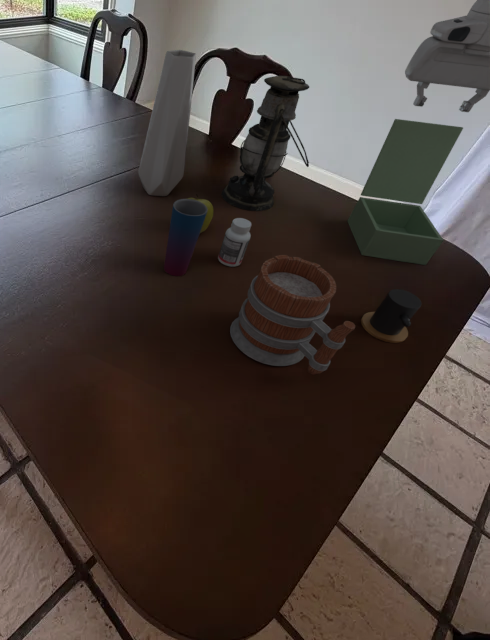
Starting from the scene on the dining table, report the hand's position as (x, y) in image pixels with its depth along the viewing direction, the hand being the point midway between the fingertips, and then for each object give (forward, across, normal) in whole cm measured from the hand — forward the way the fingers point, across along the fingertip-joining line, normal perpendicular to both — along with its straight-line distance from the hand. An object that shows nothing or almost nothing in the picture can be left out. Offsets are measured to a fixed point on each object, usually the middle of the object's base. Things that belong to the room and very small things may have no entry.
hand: (440, 108), depth 95 cm
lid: (+13, -1, -2) cm, 13 cm away
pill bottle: (+29, +38, +27) cm, 55 cm away
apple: (+29, +47, +16) cm, 57 cm away
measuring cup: (+28, +8, +44) cm, 52 cm away
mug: (+29, +30, +54) cm, 68 cm away
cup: (+29, +50, +34) cm, 67 cm away
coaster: (+29, +8, +42) cm, 52 cm away
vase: (+29, +57, -2) cm, 64 cm away
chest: (+29, -2, +7) cm, 30 cm away
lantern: (+29, +29, -6) cm, 42 cm away
